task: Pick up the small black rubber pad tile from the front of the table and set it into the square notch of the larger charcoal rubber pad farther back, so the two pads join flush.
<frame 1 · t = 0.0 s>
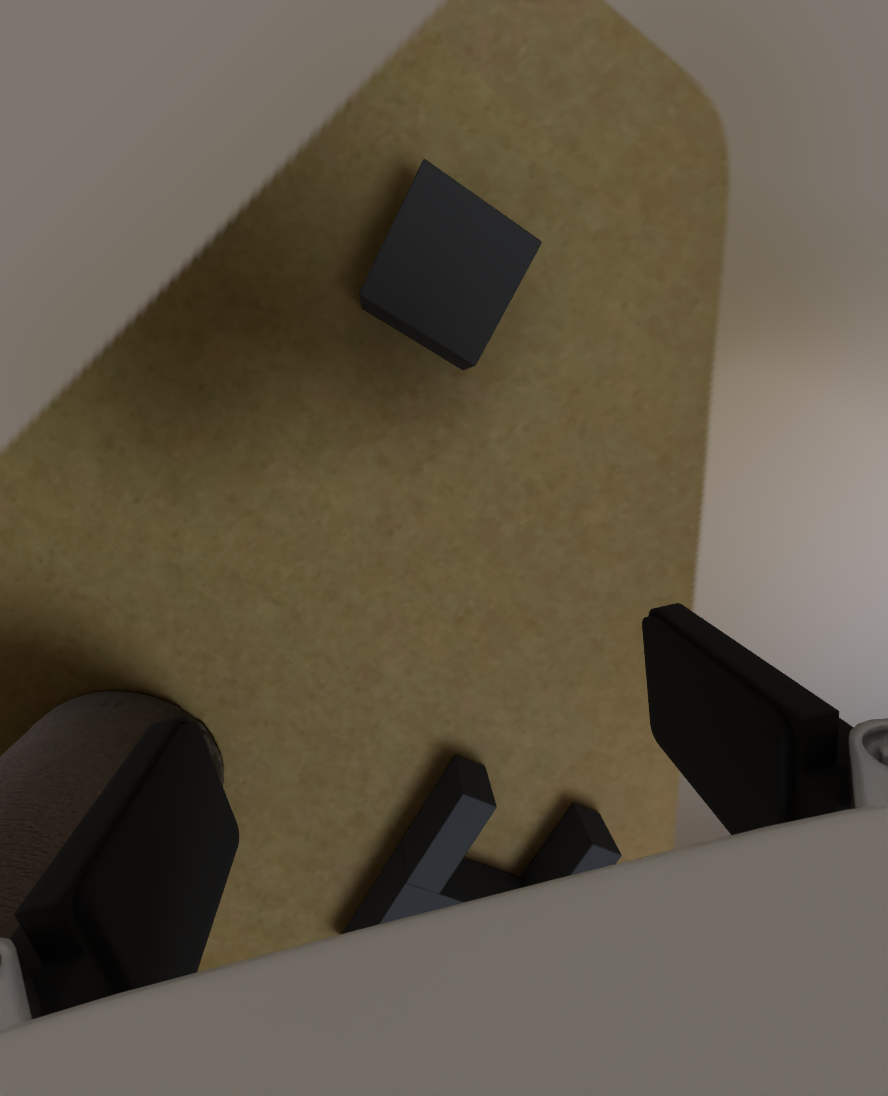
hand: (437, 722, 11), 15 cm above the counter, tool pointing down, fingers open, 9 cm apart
pillar candle: (126, 770, 26), on the counter
small pad: (442, 285, 22), on the counter
large pad: (469, 874, 31), on the counter
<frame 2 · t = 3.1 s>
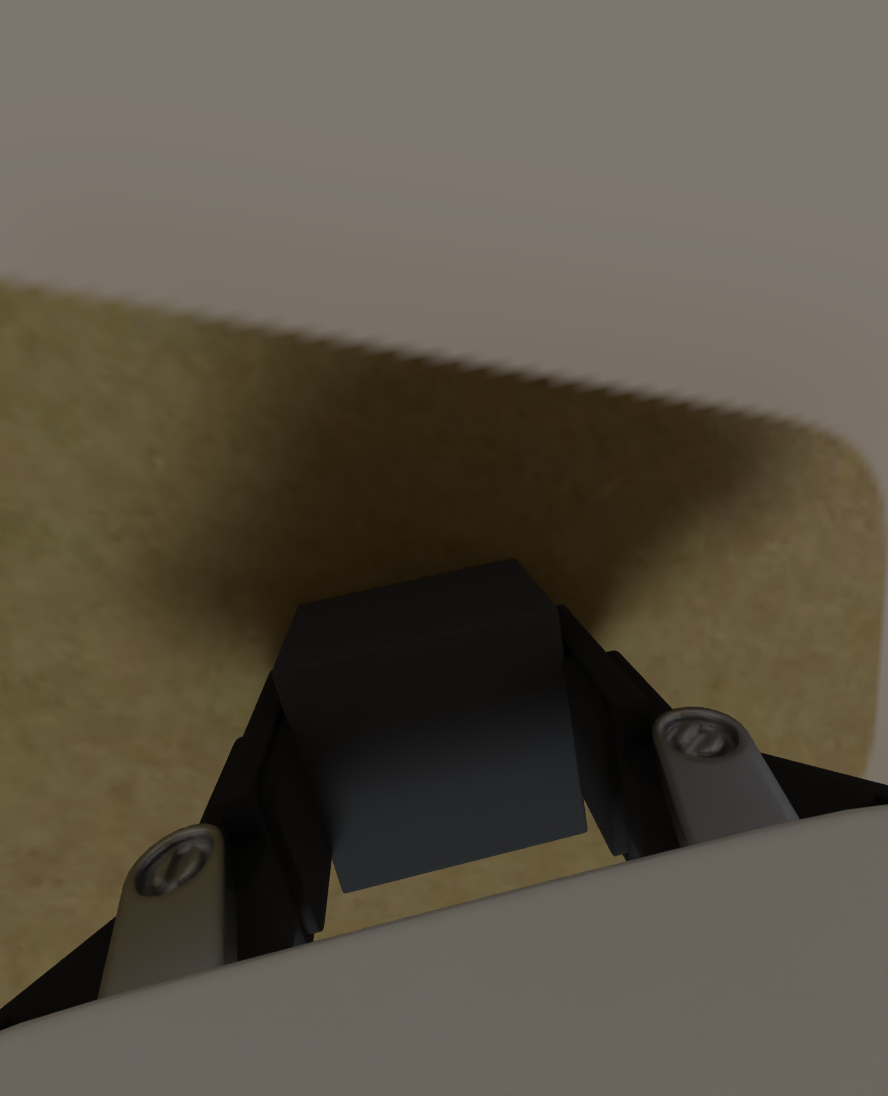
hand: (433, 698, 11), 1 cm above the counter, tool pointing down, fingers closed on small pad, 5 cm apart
small pad: (429, 676, 12), on the counter, touching gripper
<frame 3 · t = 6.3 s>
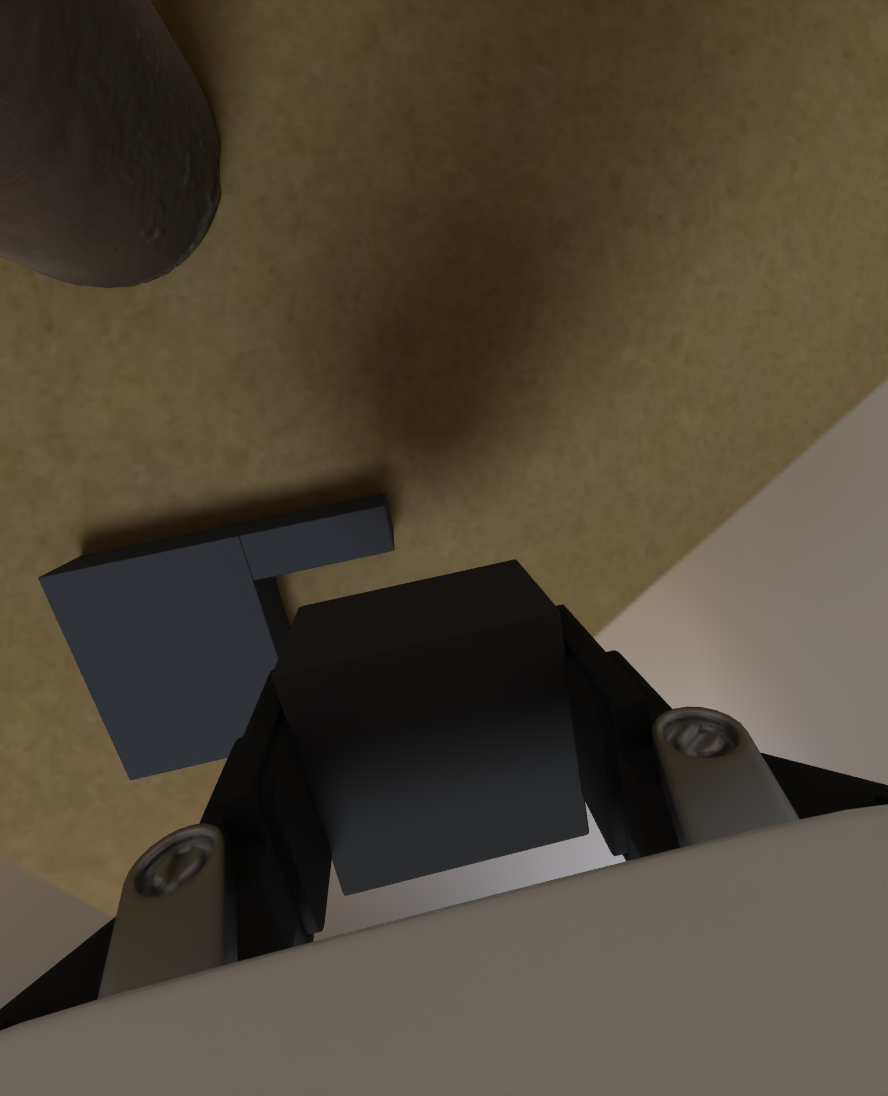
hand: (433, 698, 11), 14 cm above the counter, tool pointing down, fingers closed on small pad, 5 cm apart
pillar candle: (87, 148, 19), on the counter
small pad: (430, 678, 12), point 13 cm above the counter, touching gripper
large pad: (266, 621, 25), on the counter
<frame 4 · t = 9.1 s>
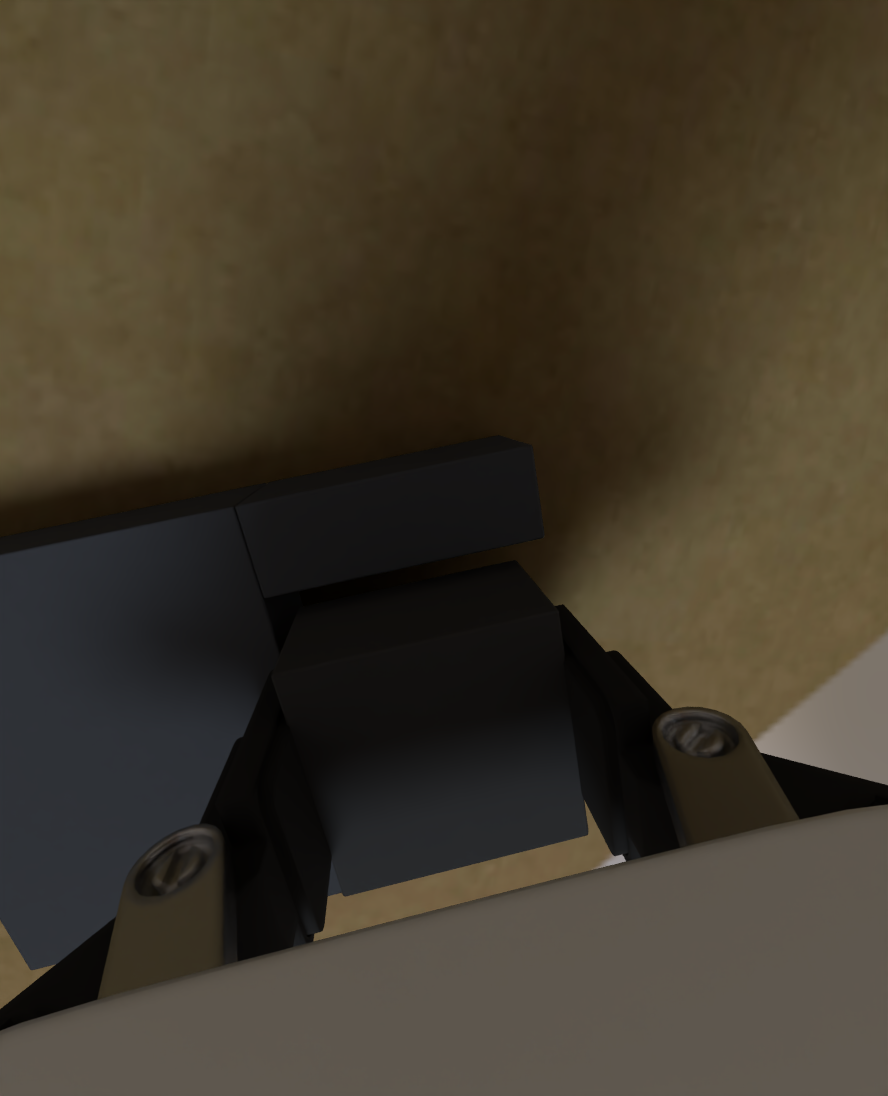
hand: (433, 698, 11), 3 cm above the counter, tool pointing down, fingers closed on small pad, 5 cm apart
small pad: (430, 678, 12), point 2 cm above the counter, touching gripper
large pad: (283, 665, 14), on the counter
when the fingers open (3 cm above the counter, at t = 13.8 s): small pad drops 2 cm, on the counter.
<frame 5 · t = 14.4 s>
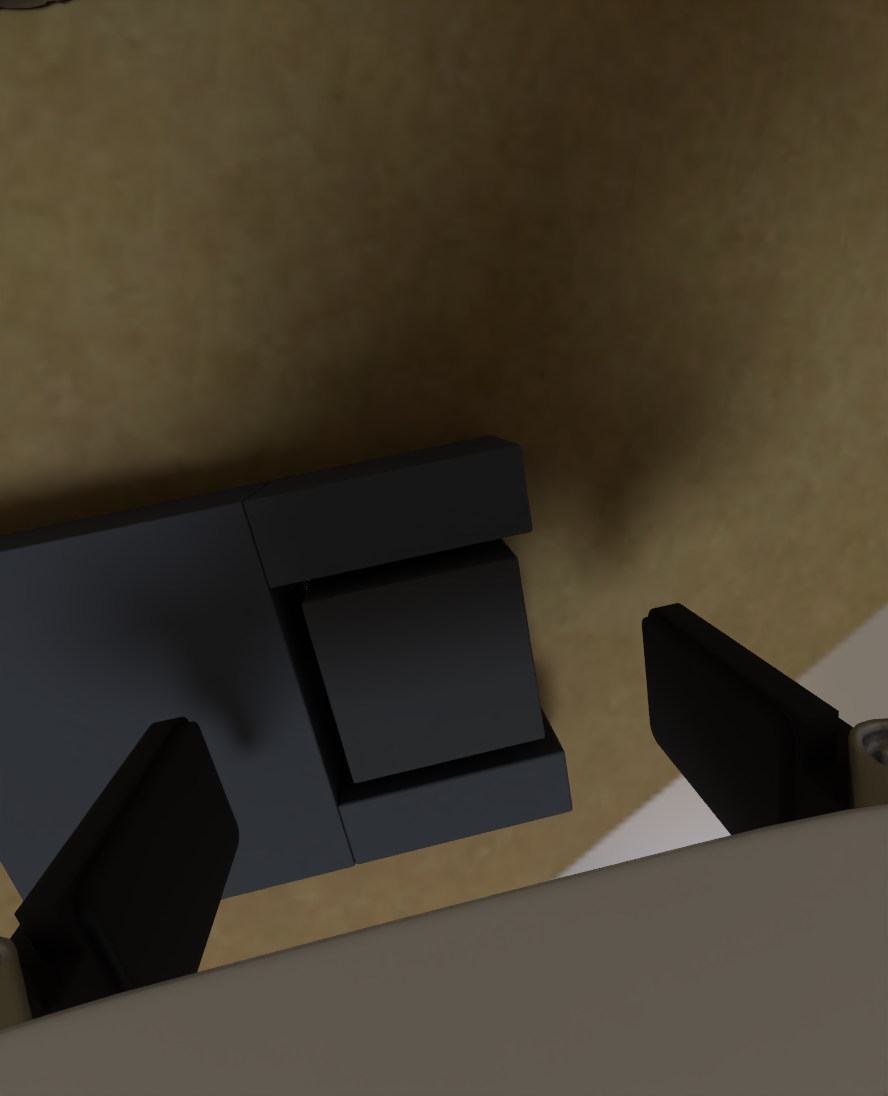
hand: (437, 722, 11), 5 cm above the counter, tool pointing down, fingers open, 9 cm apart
small pad: (422, 624, 15), on the counter
large pad: (286, 655, 15), on the counter
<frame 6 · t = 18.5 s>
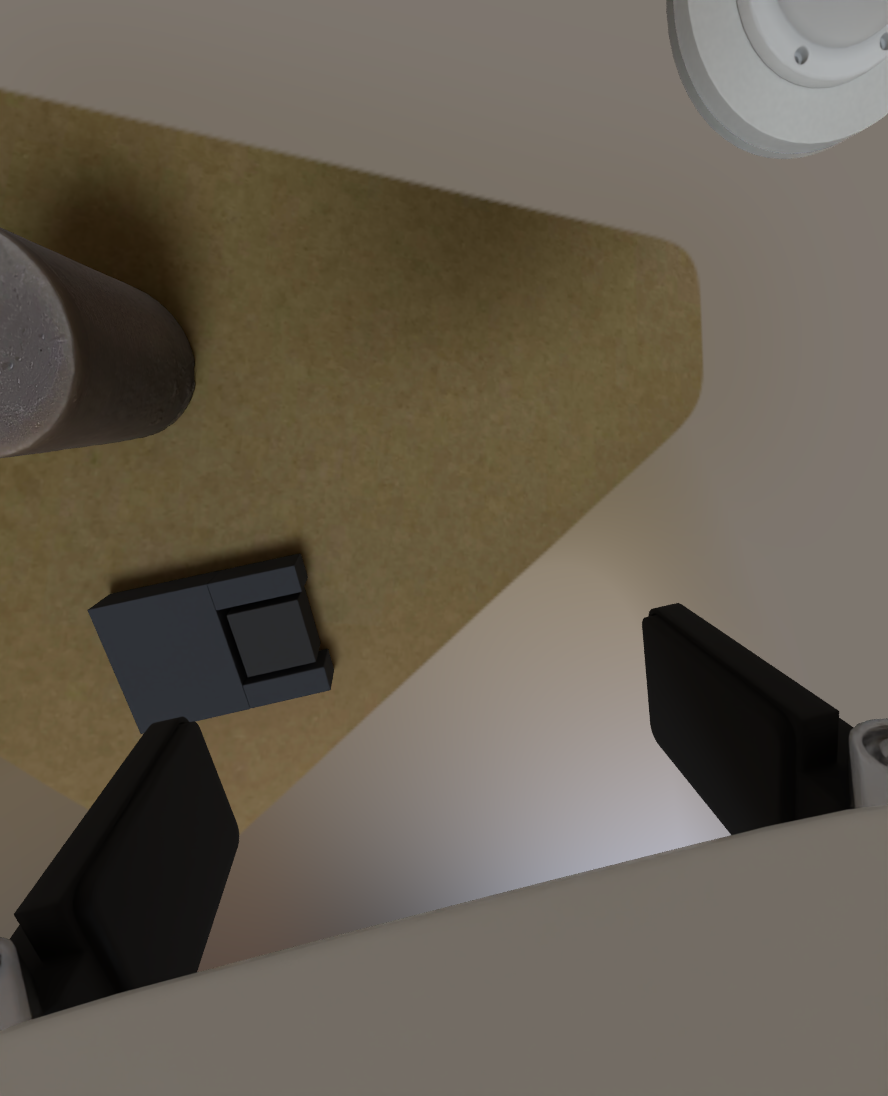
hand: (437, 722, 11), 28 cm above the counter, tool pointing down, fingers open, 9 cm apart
pillar candle: (118, 362, 33), on the counter
small pad: (280, 621, 39), on the counter
large pad: (227, 633, 39), on the counter
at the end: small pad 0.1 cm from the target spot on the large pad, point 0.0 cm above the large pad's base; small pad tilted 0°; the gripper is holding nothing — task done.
